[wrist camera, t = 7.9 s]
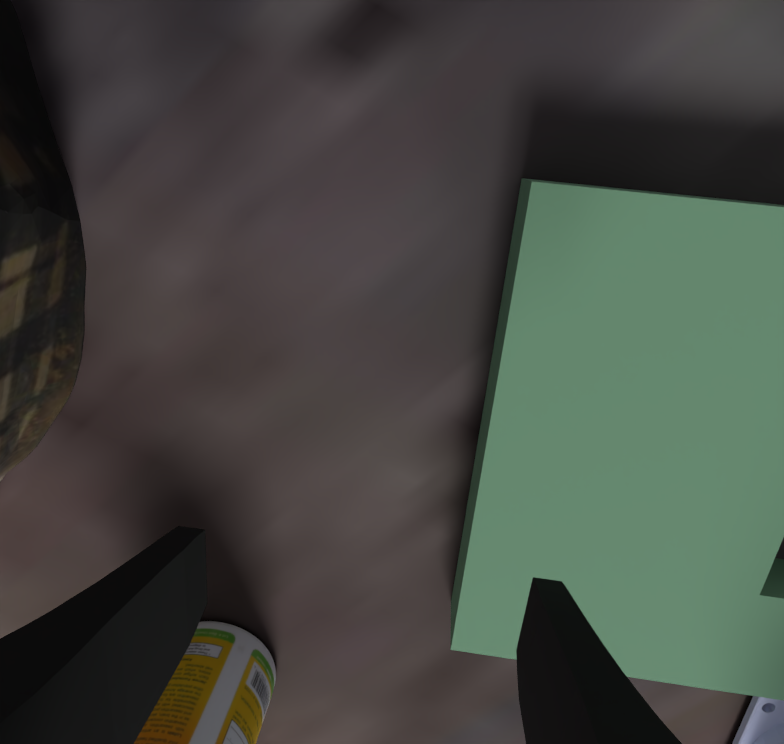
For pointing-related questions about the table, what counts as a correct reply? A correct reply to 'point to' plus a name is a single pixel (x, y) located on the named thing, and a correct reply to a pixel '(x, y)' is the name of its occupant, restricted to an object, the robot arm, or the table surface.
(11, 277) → the decorative pumpkin
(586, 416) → the putting board
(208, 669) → the supplement bottle
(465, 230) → the table surface
